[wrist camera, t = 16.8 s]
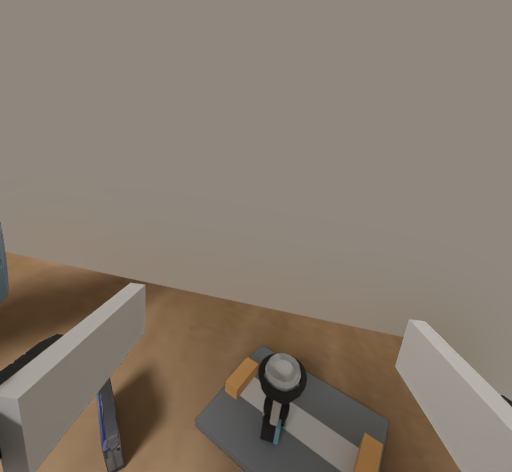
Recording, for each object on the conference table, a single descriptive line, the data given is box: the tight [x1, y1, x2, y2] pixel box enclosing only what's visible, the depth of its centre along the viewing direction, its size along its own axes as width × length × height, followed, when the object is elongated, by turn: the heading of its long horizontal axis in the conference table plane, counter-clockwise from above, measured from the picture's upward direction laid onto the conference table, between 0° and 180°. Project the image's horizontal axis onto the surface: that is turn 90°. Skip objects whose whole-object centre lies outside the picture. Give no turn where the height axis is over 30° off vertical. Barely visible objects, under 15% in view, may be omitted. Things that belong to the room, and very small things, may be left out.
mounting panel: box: [195, 344, 389, 472], centre depth 32 cm, size 20×15×3 cm
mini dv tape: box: [97, 378, 125, 472], centre depth 29 cm, size 8×2×6 cm, turn 34°
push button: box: [258, 353, 307, 445], centre depth 30 cm, size 7×5×10 cm
